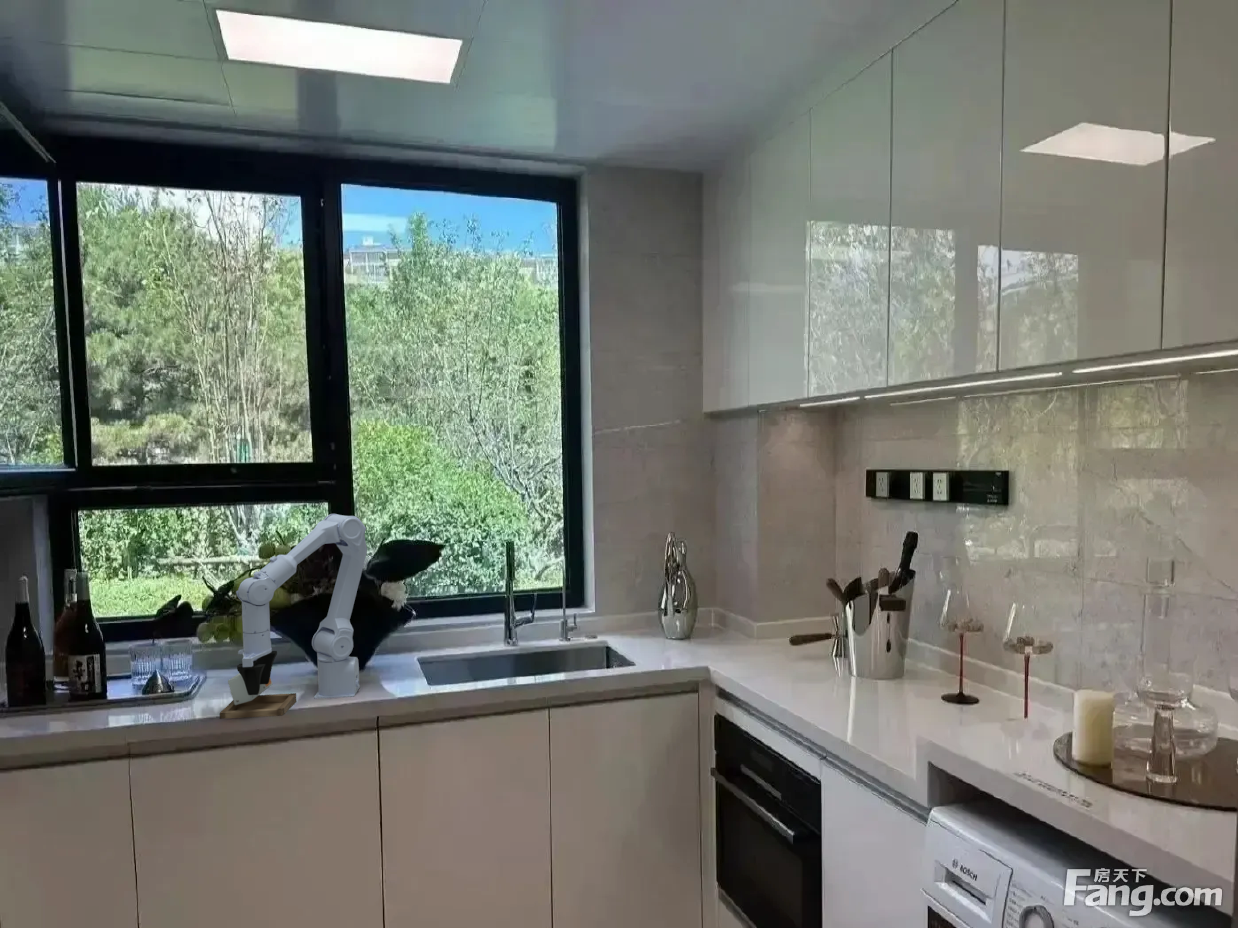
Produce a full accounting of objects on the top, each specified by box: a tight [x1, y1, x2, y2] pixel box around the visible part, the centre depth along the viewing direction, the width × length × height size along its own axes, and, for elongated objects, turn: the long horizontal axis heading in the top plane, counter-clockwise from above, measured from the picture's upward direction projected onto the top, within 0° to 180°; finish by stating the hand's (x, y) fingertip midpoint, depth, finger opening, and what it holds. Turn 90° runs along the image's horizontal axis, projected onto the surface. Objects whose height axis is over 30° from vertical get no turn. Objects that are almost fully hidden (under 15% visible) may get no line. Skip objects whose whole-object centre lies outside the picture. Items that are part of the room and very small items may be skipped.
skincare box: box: [227, 672, 273, 705], centre depth 192 cm, size 6×4×12 cm
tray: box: [219, 692, 297, 720], centre depth 188 cm, size 13×11×2 cm
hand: (258, 689), depth 188 cm, fingers open, 7 cm apart
